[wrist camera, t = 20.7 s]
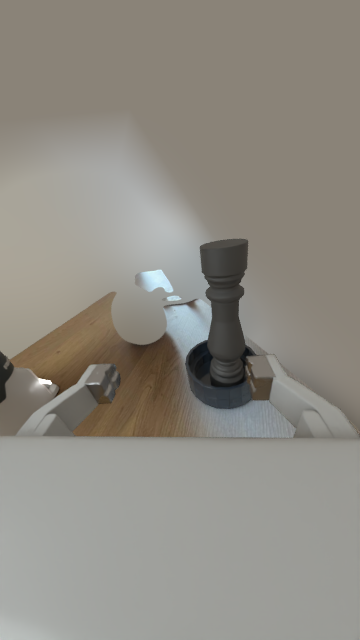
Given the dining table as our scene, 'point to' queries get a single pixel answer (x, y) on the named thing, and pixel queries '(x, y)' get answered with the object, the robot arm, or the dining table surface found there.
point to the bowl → (201, 383)
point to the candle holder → (225, 308)
